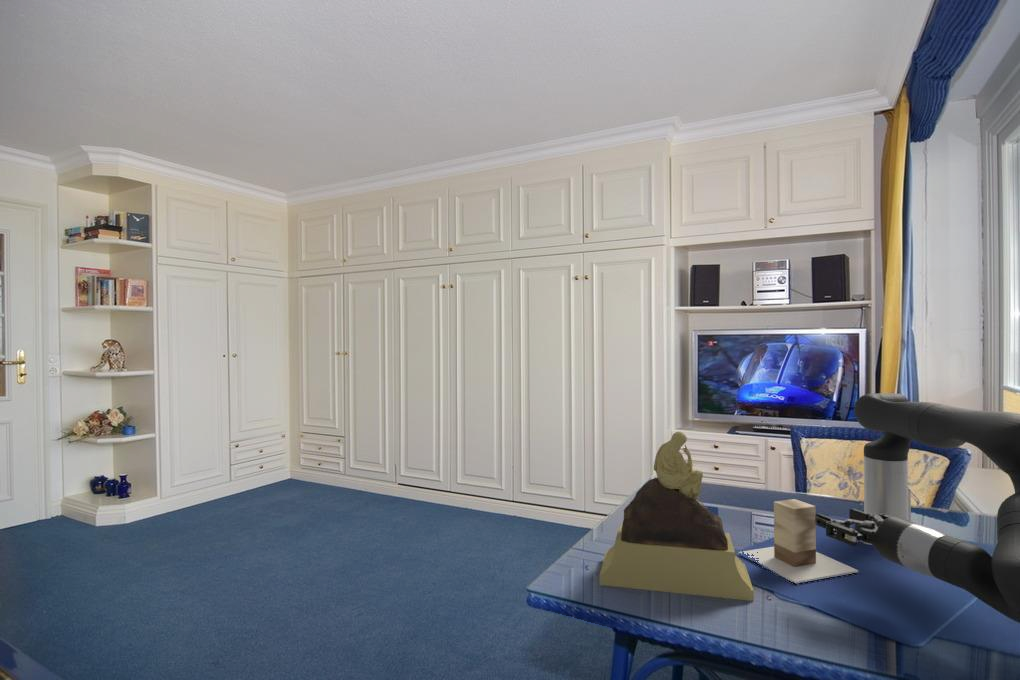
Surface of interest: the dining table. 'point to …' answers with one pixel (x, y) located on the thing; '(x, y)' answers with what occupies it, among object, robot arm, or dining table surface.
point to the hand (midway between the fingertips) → (834, 516)
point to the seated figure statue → (674, 537)
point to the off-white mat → (805, 573)
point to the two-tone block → (795, 532)
